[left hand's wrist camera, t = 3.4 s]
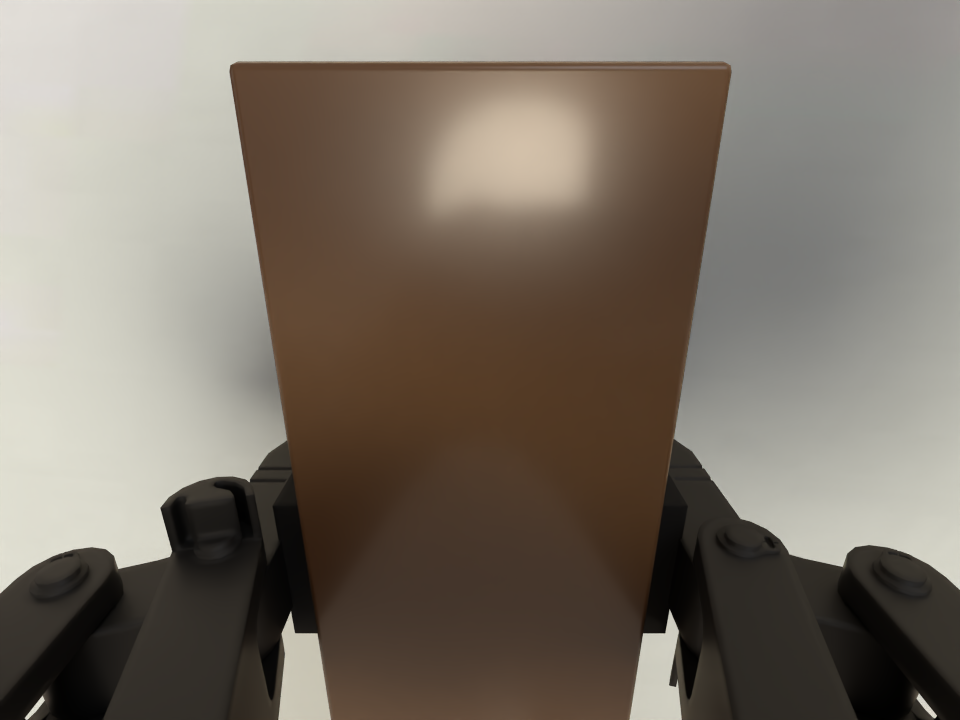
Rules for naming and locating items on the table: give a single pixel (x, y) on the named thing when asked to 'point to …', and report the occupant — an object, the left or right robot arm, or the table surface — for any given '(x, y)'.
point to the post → (480, 362)
